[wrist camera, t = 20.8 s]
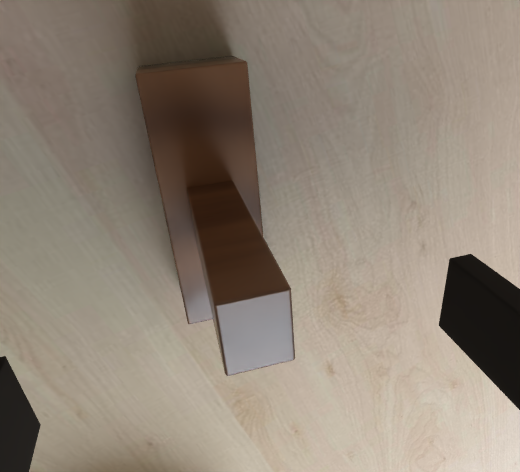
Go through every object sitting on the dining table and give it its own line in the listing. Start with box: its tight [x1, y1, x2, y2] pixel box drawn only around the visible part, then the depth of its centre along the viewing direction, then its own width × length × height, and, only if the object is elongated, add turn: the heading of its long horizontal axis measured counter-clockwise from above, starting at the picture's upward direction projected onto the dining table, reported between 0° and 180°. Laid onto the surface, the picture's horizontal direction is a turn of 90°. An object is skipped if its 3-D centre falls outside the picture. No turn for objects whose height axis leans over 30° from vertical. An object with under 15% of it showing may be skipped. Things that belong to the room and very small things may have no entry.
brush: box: [135, 56, 295, 376], centre depth 19 cm, size 14×5×14 cm, turn 5°
